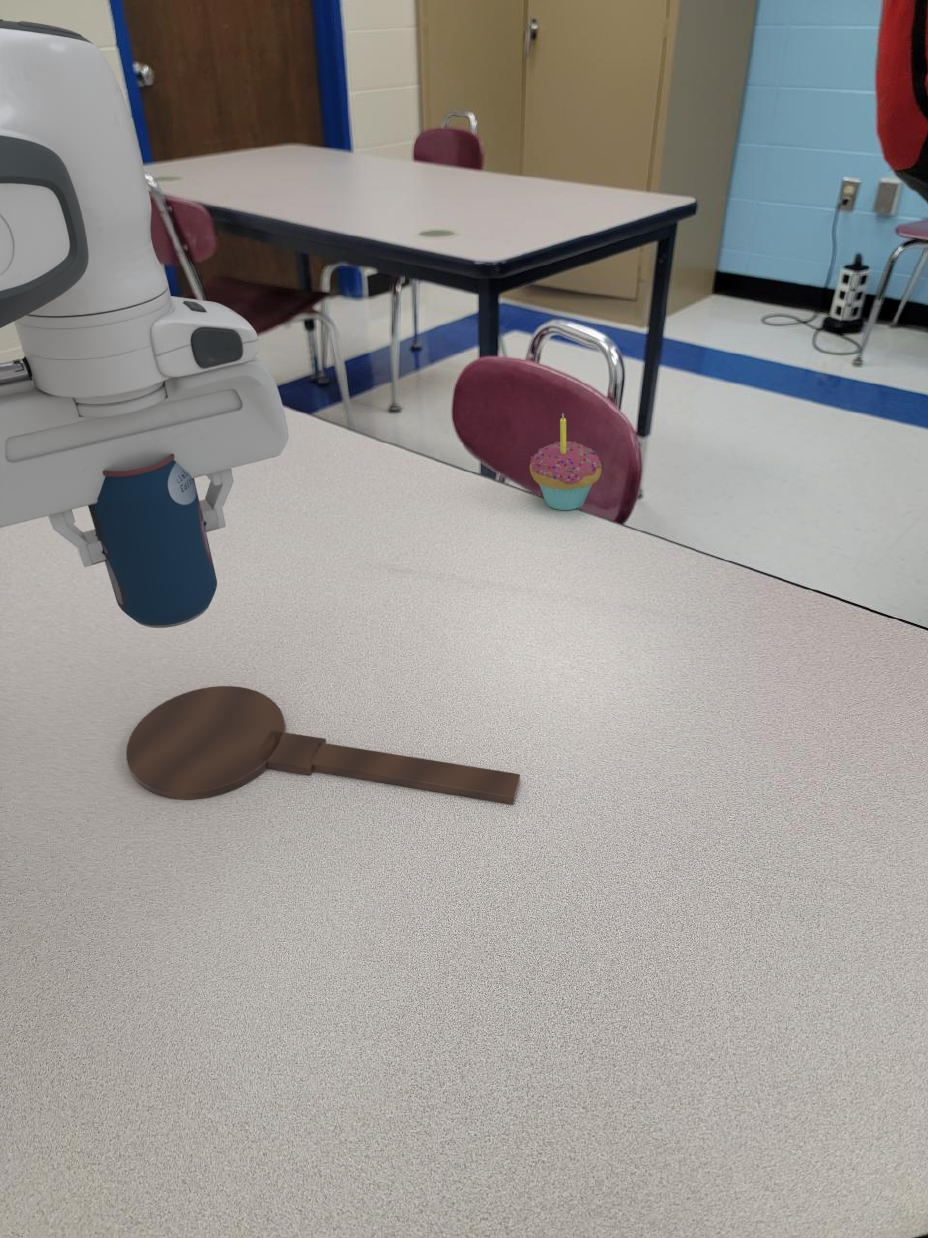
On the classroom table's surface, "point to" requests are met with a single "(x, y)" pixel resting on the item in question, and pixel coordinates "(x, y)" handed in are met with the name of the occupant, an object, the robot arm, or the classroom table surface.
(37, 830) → the classroom table surface
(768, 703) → the classroom table surface
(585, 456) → the cupcake
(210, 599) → the soda can
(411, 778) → the serving spoon
